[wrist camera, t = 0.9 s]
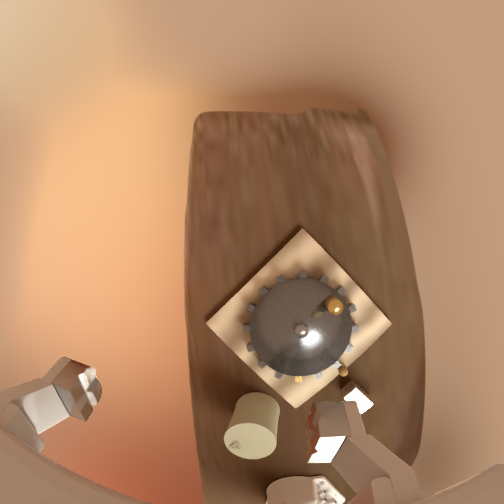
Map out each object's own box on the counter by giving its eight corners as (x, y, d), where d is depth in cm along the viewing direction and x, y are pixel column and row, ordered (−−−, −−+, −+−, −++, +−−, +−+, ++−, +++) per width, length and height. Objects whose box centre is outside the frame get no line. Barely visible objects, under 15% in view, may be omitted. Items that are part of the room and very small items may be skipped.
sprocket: (376, 325, 46) (389, 335, 39) (296, 396, 47) (297, 414, 40) (302, 246, 48) (305, 244, 41) (222, 324, 49) (211, 334, 42)
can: (227, 401, 50) (212, 433, 38) (266, 385, 49) (259, 417, 37) (249, 431, 50) (240, 466, 38) (287, 417, 49) (286, 452, 37)
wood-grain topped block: (368, 395, 47) (373, 404, 43) (357, 404, 47) (361, 414, 43) (351, 379, 47) (356, 388, 43) (340, 388, 48) (343, 398, 44)
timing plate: (390, 322, 46) (397, 327, 42) (295, 406, 48) (295, 416, 45) (302, 228, 49) (303, 226, 45) (207, 322, 51) (200, 327, 47)
